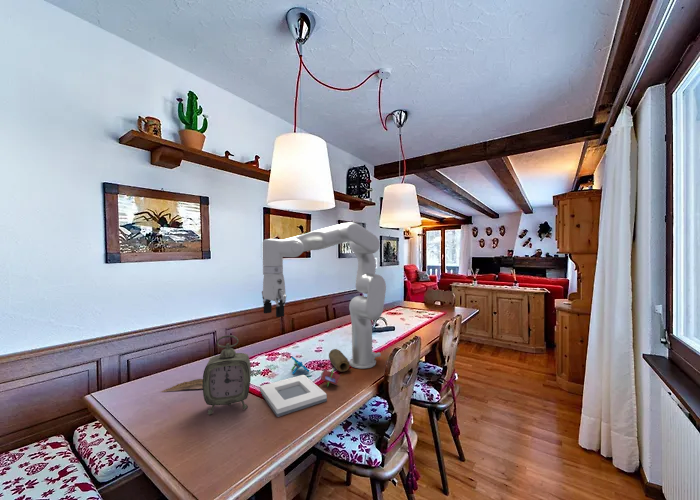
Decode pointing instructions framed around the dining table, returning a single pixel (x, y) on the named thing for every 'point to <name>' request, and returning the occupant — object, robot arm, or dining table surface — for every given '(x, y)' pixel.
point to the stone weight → (339, 360)
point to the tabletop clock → (227, 377)
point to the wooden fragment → (187, 385)
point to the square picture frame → (292, 395)
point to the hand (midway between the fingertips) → (273, 314)
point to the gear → (298, 365)
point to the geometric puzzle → (330, 377)
